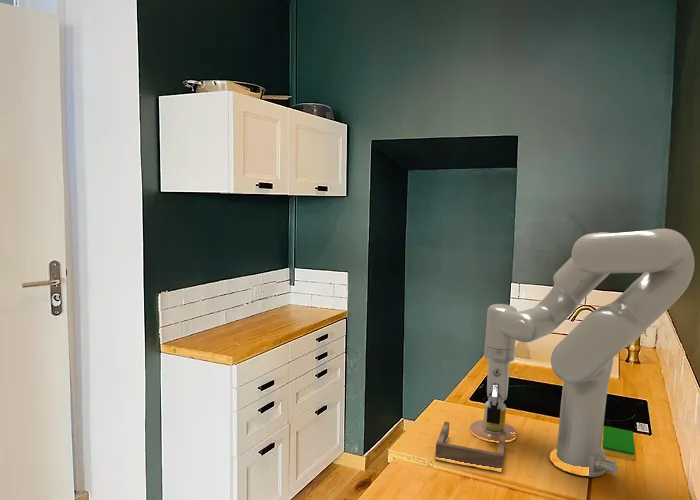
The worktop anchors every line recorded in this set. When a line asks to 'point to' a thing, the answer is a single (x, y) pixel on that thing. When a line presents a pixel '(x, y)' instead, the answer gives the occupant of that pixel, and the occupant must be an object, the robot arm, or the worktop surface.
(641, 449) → the worktop surface
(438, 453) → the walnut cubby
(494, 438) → the terracotta coaster
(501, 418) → the supplement bottle
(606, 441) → the dish sponge
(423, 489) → the worktop surface
